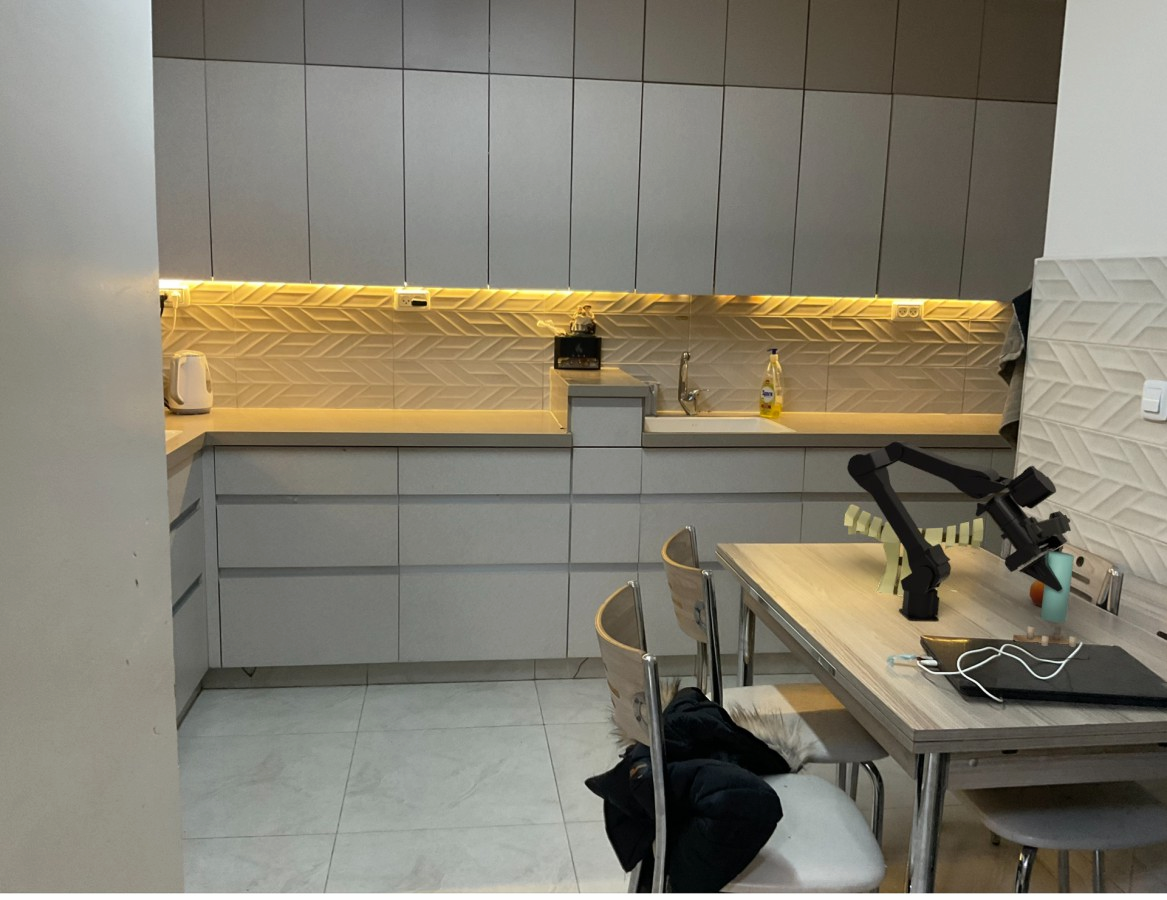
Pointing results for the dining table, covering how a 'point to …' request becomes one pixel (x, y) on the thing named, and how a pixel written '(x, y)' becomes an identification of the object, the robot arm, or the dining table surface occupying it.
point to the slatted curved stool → (893, 547)
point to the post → (1058, 600)
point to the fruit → (1037, 592)
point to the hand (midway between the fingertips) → (1064, 587)
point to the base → (1045, 637)
